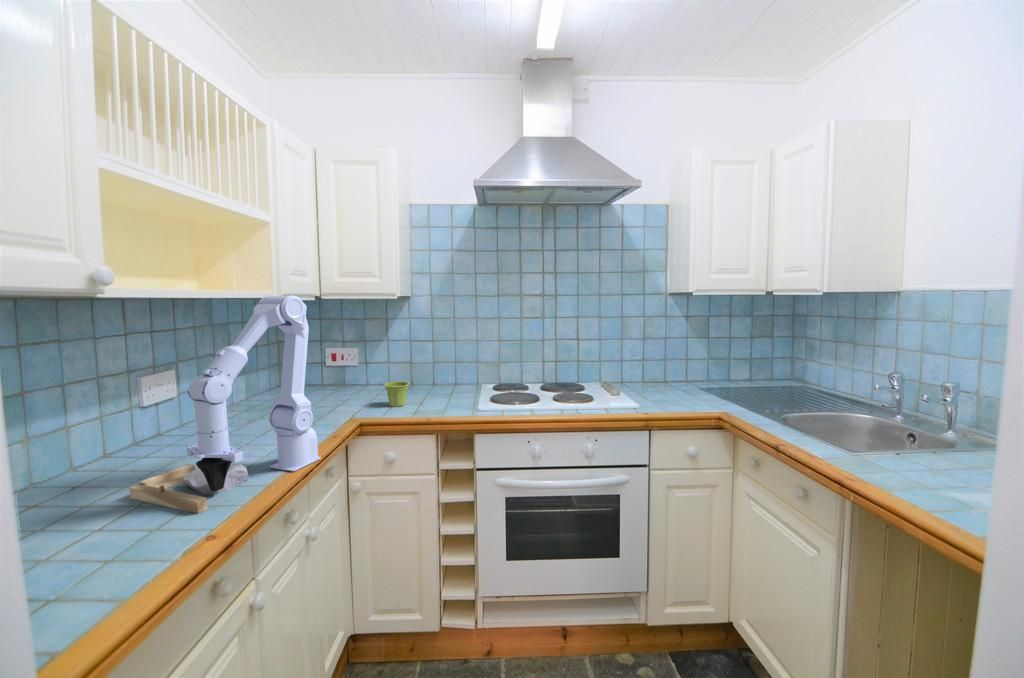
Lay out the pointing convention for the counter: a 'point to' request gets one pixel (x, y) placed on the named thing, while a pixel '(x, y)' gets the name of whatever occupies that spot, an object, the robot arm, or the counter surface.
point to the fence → (169, 491)
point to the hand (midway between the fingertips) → (217, 489)
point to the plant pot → (397, 393)
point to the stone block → (233, 478)
